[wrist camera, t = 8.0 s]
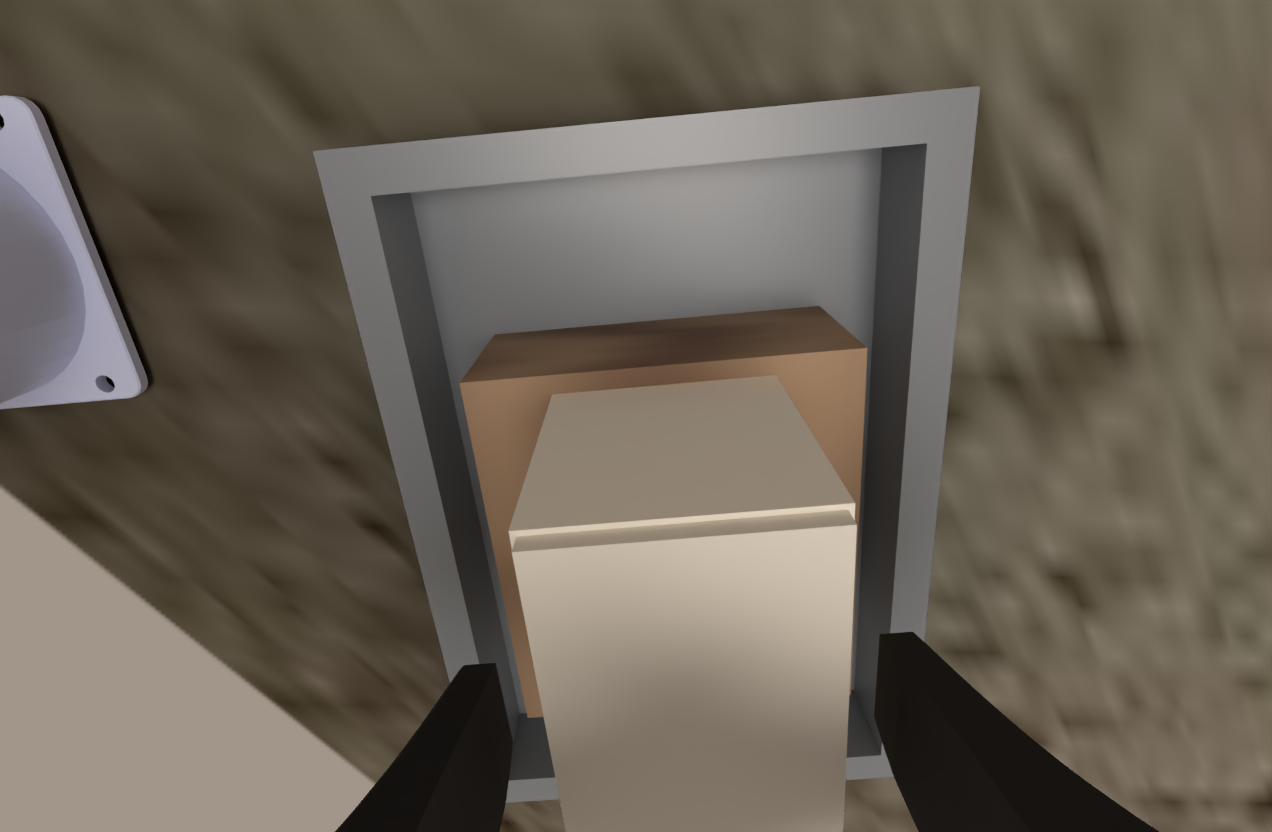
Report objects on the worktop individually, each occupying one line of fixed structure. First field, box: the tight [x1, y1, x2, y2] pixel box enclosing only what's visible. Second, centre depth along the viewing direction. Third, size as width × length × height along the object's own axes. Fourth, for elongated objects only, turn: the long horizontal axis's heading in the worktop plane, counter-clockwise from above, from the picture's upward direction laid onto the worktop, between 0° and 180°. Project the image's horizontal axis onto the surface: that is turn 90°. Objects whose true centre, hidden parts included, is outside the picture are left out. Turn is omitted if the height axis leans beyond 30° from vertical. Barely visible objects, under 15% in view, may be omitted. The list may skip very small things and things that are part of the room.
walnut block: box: [460, 306, 867, 718], centre depth 18 cm, size 9×10×4 cm
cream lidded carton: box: [508, 375, 857, 832], centre depth 13 cm, size 5×8×6 cm, turn 5°
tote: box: [313, 86, 980, 803], centre depth 19 cm, size 14×20×4 cm
